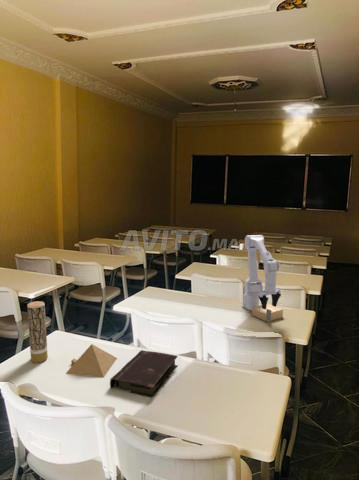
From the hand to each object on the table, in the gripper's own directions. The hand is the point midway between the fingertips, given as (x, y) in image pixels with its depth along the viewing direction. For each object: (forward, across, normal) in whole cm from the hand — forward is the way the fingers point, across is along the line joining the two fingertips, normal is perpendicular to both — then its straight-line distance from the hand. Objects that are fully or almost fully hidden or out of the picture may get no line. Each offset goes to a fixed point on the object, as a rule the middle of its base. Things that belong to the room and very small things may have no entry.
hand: (269, 307), depth 206 cm
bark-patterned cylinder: (+9, -114, +24) cm, 117 cm away
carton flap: (+8, 0, +5) cm, 10 cm away
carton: (+8, +7, +7) cm, 13 cm away
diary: (+9, -82, -13) cm, 84 cm away
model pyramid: (+9, -97, +7) cm, 98 cm away
